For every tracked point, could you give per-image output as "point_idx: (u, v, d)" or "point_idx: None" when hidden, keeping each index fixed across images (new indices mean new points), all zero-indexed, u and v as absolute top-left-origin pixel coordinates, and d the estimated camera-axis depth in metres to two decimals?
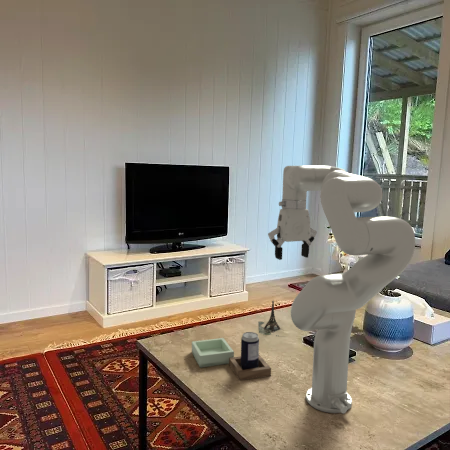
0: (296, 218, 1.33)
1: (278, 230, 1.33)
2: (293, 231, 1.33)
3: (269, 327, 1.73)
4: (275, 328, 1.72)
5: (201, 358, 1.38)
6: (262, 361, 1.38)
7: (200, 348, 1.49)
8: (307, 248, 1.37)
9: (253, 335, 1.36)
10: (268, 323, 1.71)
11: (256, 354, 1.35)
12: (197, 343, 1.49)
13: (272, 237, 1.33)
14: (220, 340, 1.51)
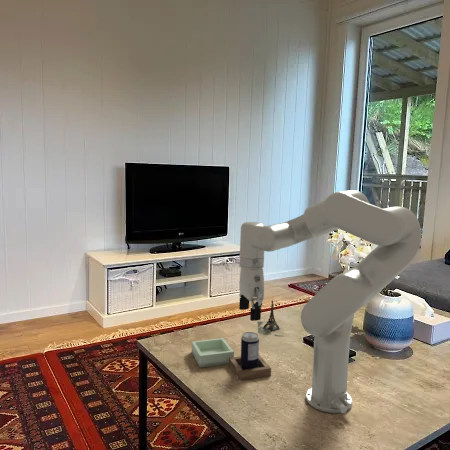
0: None
1: None
2: None
3: (268, 327, 1.73)
4: (274, 328, 1.72)
5: (201, 358, 1.38)
6: (262, 361, 1.38)
7: (200, 348, 1.49)
8: None
9: (253, 335, 1.36)
10: (267, 323, 1.71)
11: (256, 354, 1.35)
12: (197, 343, 1.49)
13: None
14: (220, 340, 1.51)
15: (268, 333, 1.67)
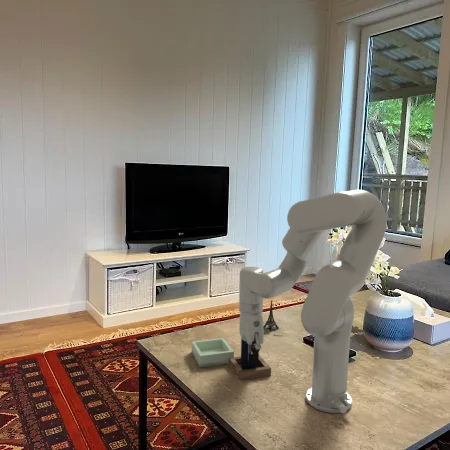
0: None
1: None
2: None
3: (268, 327, 1.73)
4: (274, 328, 1.72)
5: (201, 358, 1.38)
6: (262, 361, 1.38)
7: (200, 348, 1.49)
8: None
9: None
10: (267, 323, 1.71)
11: None
12: (197, 343, 1.49)
13: None
14: (220, 340, 1.51)
15: (267, 333, 1.67)
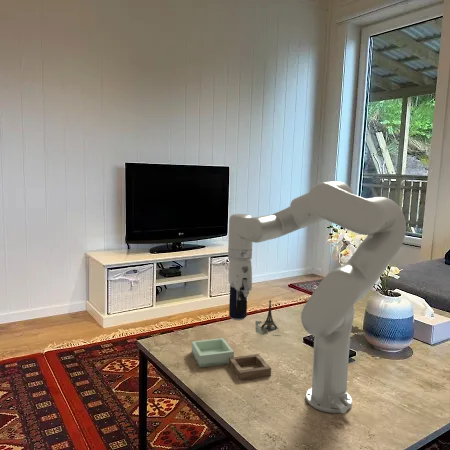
0: None
1: None
2: None
3: (266, 327, 1.74)
4: (272, 328, 1.73)
5: (201, 358, 1.38)
6: (262, 361, 1.38)
7: (200, 348, 1.49)
8: None
9: None
10: (265, 323, 1.72)
11: None
12: (197, 343, 1.49)
13: None
14: (220, 340, 1.51)
15: (266, 333, 1.67)
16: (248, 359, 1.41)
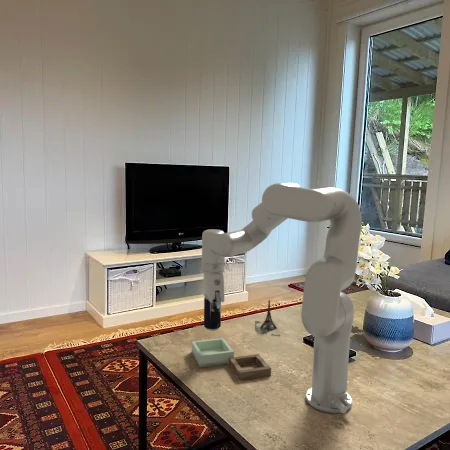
0: None
1: None
2: None
3: (265, 326, 1.74)
4: (271, 327, 1.73)
5: (201, 358, 1.38)
6: (262, 361, 1.38)
7: (200, 348, 1.49)
8: None
9: None
10: (264, 322, 1.72)
11: None
12: (197, 343, 1.49)
13: None
14: (220, 340, 1.51)
15: (265, 333, 1.68)
16: (248, 359, 1.41)
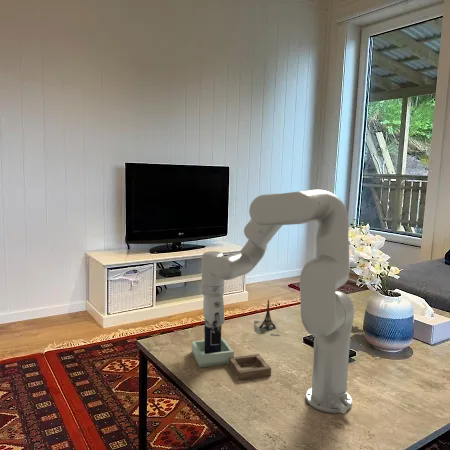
0: None
1: None
2: None
3: (265, 326, 1.74)
4: (271, 327, 1.73)
5: (201, 358, 1.38)
6: (262, 361, 1.38)
7: (200, 348, 1.49)
8: None
9: None
10: (263, 322, 1.72)
11: None
12: (197, 343, 1.49)
13: None
14: None
15: (264, 332, 1.68)
16: (248, 359, 1.41)
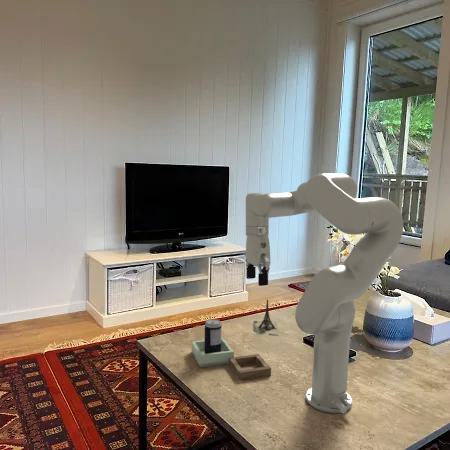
0: None
1: None
2: None
3: (264, 326, 1.74)
4: (270, 327, 1.73)
5: (201, 358, 1.38)
6: (262, 361, 1.38)
7: (200, 348, 1.49)
8: None
9: (216, 322, 1.44)
10: (263, 322, 1.72)
11: (218, 339, 1.43)
12: (197, 343, 1.49)
13: None
14: None
15: (263, 332, 1.68)
16: (248, 359, 1.41)
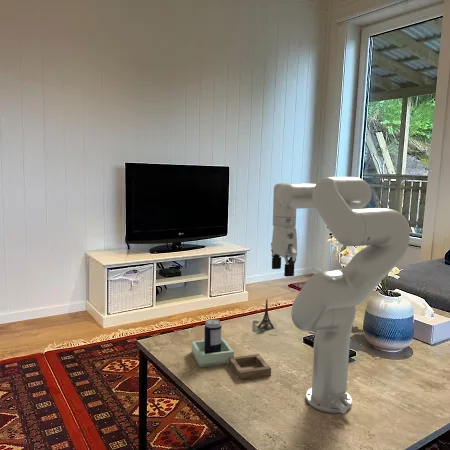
0: None
1: None
2: None
3: (263, 326, 1.74)
4: (269, 327, 1.73)
5: (201, 358, 1.38)
6: (262, 361, 1.38)
7: (200, 348, 1.49)
8: (280, 259, 1.46)
9: (216, 322, 1.44)
10: (262, 322, 1.72)
11: (218, 339, 1.43)
12: (197, 343, 1.49)
13: None
14: None
15: (262, 332, 1.68)
16: (248, 359, 1.41)
